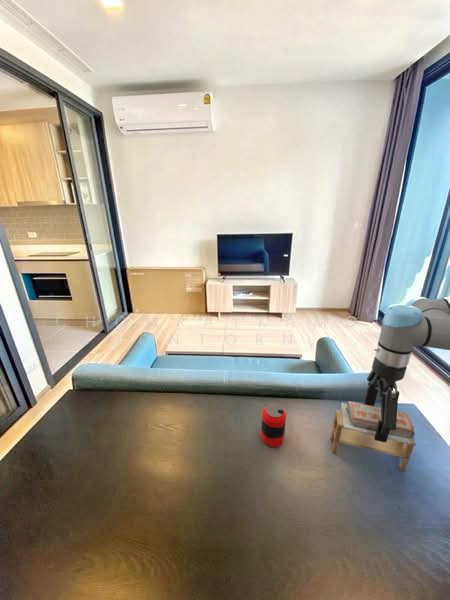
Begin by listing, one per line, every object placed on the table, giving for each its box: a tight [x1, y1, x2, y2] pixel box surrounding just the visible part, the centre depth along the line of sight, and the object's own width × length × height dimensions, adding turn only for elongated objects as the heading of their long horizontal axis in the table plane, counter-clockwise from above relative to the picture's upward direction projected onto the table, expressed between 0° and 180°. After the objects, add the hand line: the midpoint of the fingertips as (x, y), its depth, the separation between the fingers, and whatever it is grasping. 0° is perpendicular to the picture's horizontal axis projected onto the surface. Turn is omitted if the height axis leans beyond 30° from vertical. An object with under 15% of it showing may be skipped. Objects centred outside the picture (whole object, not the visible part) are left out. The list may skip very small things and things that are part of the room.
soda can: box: [260, 403, 287, 448], centre depth 82 cm, size 8×8×12 cm
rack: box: [330, 409, 417, 472], centre depth 77 cm, size 20×6×12 cm, turn 73°
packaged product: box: [341, 400, 417, 447], centre depth 74 cm, size 18×5×10 cm
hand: (374, 421), depth 74 cm, fingers open, 13 cm apart
